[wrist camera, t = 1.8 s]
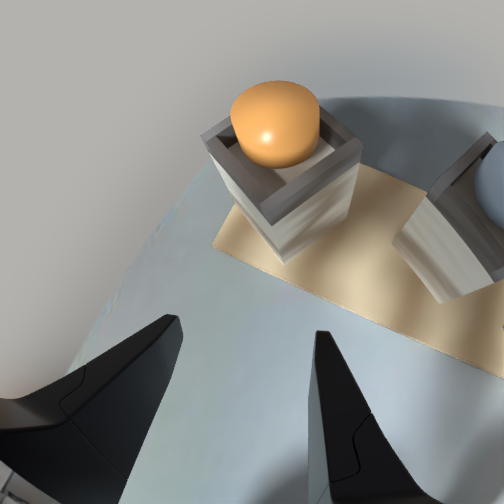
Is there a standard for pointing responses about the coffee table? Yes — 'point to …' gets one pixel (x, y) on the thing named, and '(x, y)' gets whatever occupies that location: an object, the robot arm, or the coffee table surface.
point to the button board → (373, 240)
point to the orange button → (277, 124)
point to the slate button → (491, 184)
